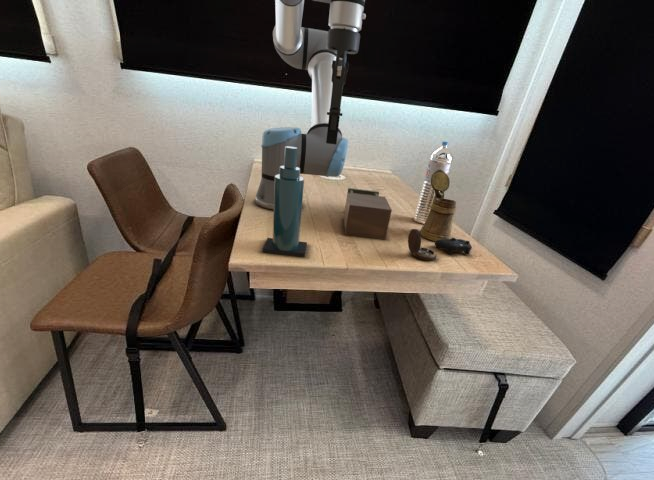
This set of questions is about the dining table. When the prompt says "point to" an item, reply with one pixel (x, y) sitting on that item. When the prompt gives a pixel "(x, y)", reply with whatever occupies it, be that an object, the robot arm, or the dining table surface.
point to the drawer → (362, 192)
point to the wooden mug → (439, 210)
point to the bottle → (287, 203)
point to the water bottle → (436, 162)
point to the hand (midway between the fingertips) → (331, 143)
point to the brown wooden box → (366, 216)
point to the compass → (419, 246)
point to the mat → (298, 252)
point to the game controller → (454, 245)
